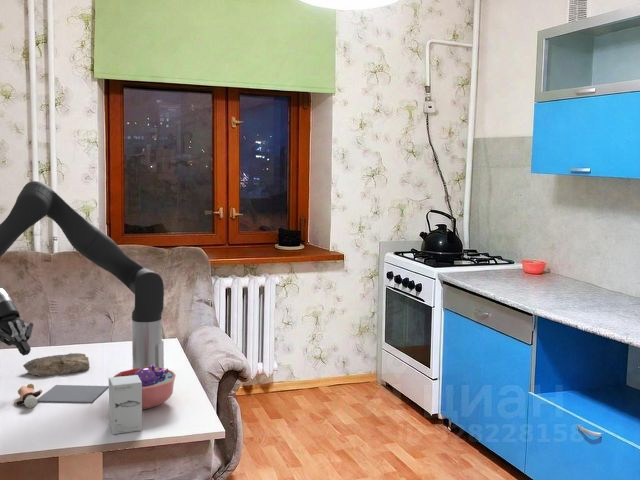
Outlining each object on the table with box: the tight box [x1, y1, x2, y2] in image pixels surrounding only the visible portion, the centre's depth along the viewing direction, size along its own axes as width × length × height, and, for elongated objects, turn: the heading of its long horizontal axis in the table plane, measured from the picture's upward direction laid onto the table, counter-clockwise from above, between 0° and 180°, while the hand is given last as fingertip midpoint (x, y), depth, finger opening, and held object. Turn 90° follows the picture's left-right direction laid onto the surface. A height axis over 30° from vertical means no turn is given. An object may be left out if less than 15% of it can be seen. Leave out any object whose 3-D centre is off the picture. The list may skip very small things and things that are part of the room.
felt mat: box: [37, 384, 109, 404], centre depth 195 cm, size 16×14×1 cm
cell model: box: [113, 365, 176, 410], centre depth 186 cm, size 17×20×11 cm
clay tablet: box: [22, 352, 90, 377], centre depth 218 cm, size 14×5×20 cm
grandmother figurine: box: [13, 383, 43, 409], centre depth 187 cm, size 8×4×13 cm
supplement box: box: [108, 375, 143, 435], centre depth 169 cm, size 7×7×13 cm
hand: (26, 353), depth 196 cm, fingers closed
